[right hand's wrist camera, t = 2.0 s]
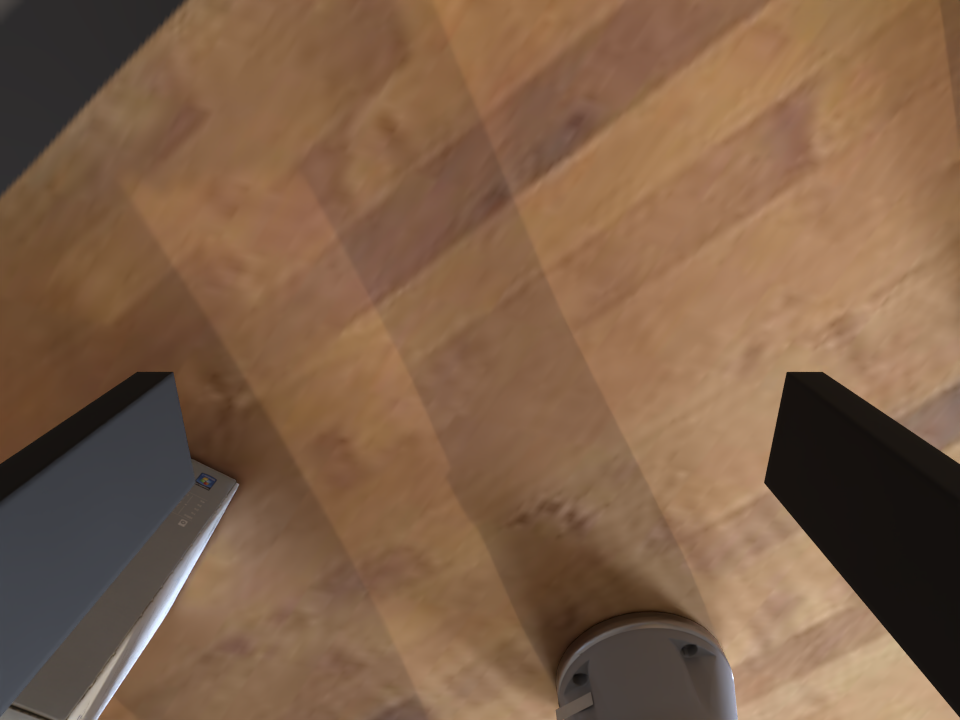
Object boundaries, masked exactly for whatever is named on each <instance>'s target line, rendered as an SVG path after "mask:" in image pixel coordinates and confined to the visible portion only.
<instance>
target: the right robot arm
mask: <svg viewBox="0 0 960 720" xmlns="http://www.w3.org/2000/svg"><path fill="white" fill-rule="evenodd" d="M195 483H196V481H195V476H194V471H193V467H192V462H191V457H190V452H189V447H188V442H187V437H186V432H185V427H184V422H183V418H182V413H181V408H180V403H179V398H178V393H177V388H176V383H175V378H174V374H173V372H137V373H135V374H134V375H132V376H131V377H129V378H128V379H126V380H125V381H123V382H122V383H120V384H119V385H117V386H116V387H114V388H113V389H111V390H110V391H108V392H107V393H105V394H104V395H102V396H101V397H99V398H98V399H97V400H95V401H94V402H92V403H91V404H89V405H88V406H86V407H85V408H83V409H82V410H80V411H79V412H77V413H76V414H74V415H73V416H71V417H70V418H68V419H67V420H65V421H64V422H62V423H61V424H59V425H58V426H56V427H55V428H53V429H52V430H50V431H49V432H47V433H46V434H44V435H43V436H41V437H40V438H38V439H37V440H36V441H34V442H33V443H31V444H30V445H28V446H27V447H25V448H24V449H22V450H21V451H19V452H18V453H16V454H15V455H13V456H12V457H10V458H9V459H7V460H6V461H4V462H3V463H1V464H0V717H1V716H2V715H3V714H4V712H5V711H6V710H7V709H8V708H9V706H10V705H11V704H12V703H13V702H14V700H15V699H16V698H17V697H18V696H19V694H20V693H21V692H22V691H23V690H24V688H25V687H26V686H27V685H28V684H29V682H30V681H31V680H32V679H33V678H34V676H35V675H36V674H37V673H38V672H39V670H40V669H41V668H42V667H43V666H44V664H45V663H46V662H47V661H48V660H49V658H50V657H51V656H52V655H53V654H54V652H55V651H56V650H57V649H58V648H59V646H60V645H61V644H62V643H63V642H64V640H65V639H66V638H67V637H68V636H69V634H70V633H71V632H72V631H73V630H74V628H75V627H76V626H77V625H78V624H79V622H80V621H81V620H82V619H83V618H84V616H85V615H86V614H87V613H88V612H89V610H90V609H91V608H92V607H93V606H94V604H95V603H96V602H97V601H98V600H99V598H100V597H101V596H102V595H103V594H104V592H105V591H106V590H107V589H108V588H109V586H110V585H111V584H112V583H113V582H114V580H115V579H116V578H117V577H118V576H119V574H120V573H121V572H122V571H123V570H124V568H125V567H126V566H127V565H128V564H129V562H130V561H131V560H132V559H133V558H134V556H135V555H136V554H137V553H138V552H139V550H140V549H141V548H142V547H143V546H144V544H145V543H146V542H147V541H148V540H149V538H150V537H151V536H152V535H153V534H154V532H155V531H156V530H157V529H158V528H159V526H160V525H161V524H162V523H163V522H164V520H165V519H166V518H167V517H168V516H169V514H170V513H171V512H172V511H173V510H174V508H175V507H176V506H177V505H178V504H179V502H180V501H181V500H182V499H183V498H184V496H185V495H186V494H187V493H188V492H189V490H190V489H191V488H192V487H193V486H194V484H195ZM764 483H765V484H766V486H767V487H768V488H769V489H770V490H771V492H772V493H773V494H774V495H775V496H776V498H777V499H778V500H779V501H780V502H781V504H782V505H783V506H784V507H785V508H786V510H787V511H788V512H789V513H790V514H791V516H792V517H793V518H794V519H795V520H796V522H797V523H798V524H799V525H800V526H801V528H802V529H803V530H804V531H805V532H806V534H807V535H808V536H809V537H810V538H811V540H812V541H813V542H814V543H815V544H816V546H817V547H818V548H819V549H820V550H821V552H822V553H823V554H824V555H825V556H826V558H827V559H828V560H829V561H830V562H831V564H832V565H833V566H834V567H835V568H836V570H837V571H838V572H839V573H840V574H841V576H842V577H843V578H844V579H845V580H846V582H847V583H848V584H849V585H850V586H851V588H852V589H853V590H854V591H855V592H856V594H857V595H858V596H859V597H860V598H861V600H862V601H863V602H864V603H865V604H866V606H867V607H868V608H869V609H870V610H871V612H872V613H873V614H874V615H875V616H876V618H877V619H878V620H879V621H880V622H881V624H882V625H883V626H884V627H885V628H886V630H887V631H888V632H889V633H890V634H891V636H892V637H893V638H894V639H895V640H896V642H897V643H898V644H899V645H900V646H901V648H902V649H903V650H904V651H905V652H906V654H907V655H908V656H909V657H910V658H911V660H912V661H913V662H914V663H915V664H916V666H917V667H918V668H919V669H920V670H921V672H922V673H923V674H924V675H925V676H926V678H927V679H928V680H929V681H930V682H931V684H932V685H933V686H934V687H935V688H936V690H937V691H938V692H939V693H940V694H941V696H942V697H943V698H944V699H945V700H946V702H947V703H948V704H949V705H950V706H951V708H952V709H953V710H954V711H955V712H956V714H957V715H958V716H959V717H960V464H959V463H957V462H956V461H954V460H953V459H951V458H950V457H948V456H947V455H945V454H944V453H942V452H941V451H939V450H938V449H936V448H935V447H933V446H932V445H930V444H929V443H927V442H926V441H924V440H923V439H922V438H920V437H919V436H917V435H916V434H914V433H913V432H911V431H910V430H908V429H907V428H905V427H904V426H902V425H901V424H899V423H898V422H896V421H895V420H893V419H892V418H890V417H889V416H887V415H886V414H884V413H883V412H881V411H880V410H878V409H877V408H875V407H874V406H872V405H871V404H869V403H868V402H866V401H865V400H863V399H862V398H861V397H859V396H858V395H856V394H855V393H853V392H852V391H850V390H849V389H847V388H846V387H844V386H843V385H841V384H840V383H838V382H837V381H835V380H834V379H832V378H831V377H829V376H828V375H826V374H825V373H823V372H787V374H786V378H785V383H784V388H783V393H782V398H781V403H780V408H779V413H778V418H777V422H776V427H775V432H774V437H773V442H772V447H771V452H770V457H769V462H768V467H767V471H766V476H765V481H764ZM556 688H557V695H558V702H559V707H560V708H559V709H557V710H556V716H557V720H738V718H737V708H736V698H735V688H734V680H733V674H732V670H731V668H730V665H729V663H728V661H727V659H726V657H725V654H724V652H723V650H722V648H721V646H720V644H719V643H718V642H717V640H716V639H715V638H714V637H713V635H712V634H711V633H710V632H708V631H707V630H706V629H705V628H703V627H702V626H700V625H699V624H697V623H695V622H693V621H691V620H689V619H686V618H684V617H680V616H677V615H673V614H668V613H660V612H639V613H631V614H626V615H621V616H617V617H614V618H611V619H608V620H606V621H603V622H601V623H599V624H597V625H595V626H593V627H592V628H590V629H588V630H587V631H585V632H584V633H583V634H581V635H580V636H579V637H578V638H577V639H576V640H575V641H574V642H573V643H572V644H571V645H570V646H569V647H568V649H567V650H566V651H565V653H564V655H563V656H562V658H561V660H560V662H559V665H558V669H557V674H556Z"/></svg>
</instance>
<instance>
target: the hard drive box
mask: <svg viewBox="0 0 960 720" xmlns="http://www.w3.org/2000/svg"><path fill="white" fill-rule="evenodd" d="M191 462H192V467H193V471H194V476H195V481H196V483H195V484H194V486H193V487H192V488H191V489H190V490H189V492H188V493H187V494H186V495H185V496H184V498H183V499H182V500H181V501H180V502H179V504H178V505H177V506H176V507H175V508H174V510H173V511H172V512H171V513H170V514H169V516H168V517H167V518H166V519H165V520H164V522H163V523H162V524H161V525H160V526H159V528H158V529H157V530H156V531H155V532H154V534H153V535H152V536H151V537H150V538H149V540H148V541H147V542H146V543H145V544H144V546H143V547H142V548H141V549H140V550H139V552H138V553H137V554H136V555H135V556H134V558H133V559H132V560H131V561H130V562H129V564H128V565H127V566H126V567H125V568H124V570H123V571H122V572H121V573H120V574H119V576H118V577H117V578H116V579H115V580H114V582H113V583H112V584H111V585H110V586H109V588H108V589H107V590H106V591H105V592H104V594H103V595H102V596H101V597H100V598H99V600H98V601H97V602H96V603H95V604H94V606H93V607H92V608H91V609H90V610H89V612H88V613H87V614H86V615H85V616H84V618H83V619H82V620H81V621H80V622H79V624H78V625H77V626H76V627H75V628H74V630H73V631H72V632H71V633H70V634H69V636H68V637H67V638H66V639H65V640H64V642H63V643H62V644H61V645H60V646H59V648H58V649H57V650H56V651H55V652H54V654H53V655H52V656H51V657H50V658H49V660H48V661H47V662H46V663H45V664H44V666H43V667H42V668H41V669H40V670H39V672H38V673H37V674H36V675H35V676H34V678H33V679H32V680H31V681H30V682H29V684H28V685H27V686H26V687H25V688H24V690H23V691H22V692H21V693H20V694H19V696H18V697H17V698H16V699H15V700H14V702H13V703H12V704H11V705H10V706H9V708H8V709H7V710H6V711H5V712H4V714H3V715H2V716H1V717H0V720H97V719H98V718H99V716H100V715H101V713H102V712H103V710H104V709H105V707H106V706H107V704H108V703H109V701H110V700H111V698H112V697H113V695H114V694H115V692H116V690H117V689H118V687H119V686H120V684H121V683H122V681H123V680H124V678H125V677H126V675H127V674H128V672H129V671H130V669H131V668H132V666H133V665H134V663H135V662H136V660H137V659H138V657H139V656H140V654H141V653H142V651H143V650H144V648H145V647H146V645H147V644H148V642H149V641H150V639H151V638H152V636H153V635H154V633H155V632H156V630H157V629H158V627H159V626H160V624H161V622H162V621H163V619H164V618H165V616H166V615H167V613H168V611H169V610H170V608H171V606H172V605H173V603H174V601H175V599H176V597H177V595H178V593H179V592H180V590H181V588H182V586H183V585H184V583H185V581H186V579H187V577H188V576H189V574H190V572H191V570H192V568H193V567H194V565H195V563H196V561H197V560H198V558H199V556H200V554H201V553H202V551H203V549H204V547H205V545H206V544H207V542H208V540H209V538H210V536H211V535H212V533H213V531H214V529H215V528H216V526H217V524H218V522H219V521H220V519H221V517H222V515H223V513H224V512H225V510H226V508H227V506H228V504H229V502H230V501H231V499H232V497H233V495H234V494H235V492H236V490H237V488H238V486H239V484H238V483H236V480H235V479H233V478H231V477H229V476H227V475H225V474H223V473H220V472H218V471H216V470H214V469H212V468H210V467H208V466H206V465H204V464H202V463H199V462H197V461H195V460H193V459H191Z"/></svg>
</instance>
